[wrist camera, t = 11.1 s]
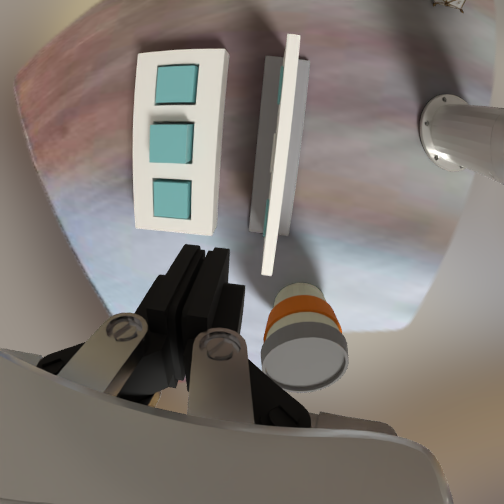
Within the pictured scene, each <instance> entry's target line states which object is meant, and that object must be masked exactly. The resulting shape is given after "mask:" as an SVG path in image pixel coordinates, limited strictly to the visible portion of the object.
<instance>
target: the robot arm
mask: <svg viewBox="0 0 504 504" xmlns="http://www.w3.org/2000/svg"><path fill="white" fill-rule="evenodd" d="M442 99H443V100H442ZM420 137H421V142H422V145H423V148H424V150H425V152H426V154H427V155H428V157H429V158H430V160H431V161H432V162H433V163H434V164H436V165H437V166H438V167H440V168H442V169H444V170H447V171H451V172H457V171H462V170H464V169H466V168H467V169H469V170H472V171H474V172H476V173H479V174H481V175H483V176H486V177H488V178H490V179H492V180H494V181H497V182H499V183H501V184H503V185H504V108H496V107H487V106H476V105H469V104H468V103H467V102H465V101H464V100H463V99H461V98H460V97H458V96H455V95H449V94H444V95H439V96H436V97H434V98H433V99H431V100H430V101H429V102H428V103H427V105H426V106H425V108H424V110H423V112H422V115H421V119H420ZM434 156H435V157H434ZM229 256H230V250H229V249H225V248H216V247H215V248H214V250H213V251H208V253H207V255H206V257H205V250H200V246H198V245H189V244H185V245H184V246H183V248H182V249H181V251H180V253H179V254H178V256H177V257H176V259H175V261H174V262H173V264H172V265H171V267H170V269H169V270H168V272H167V273H166V275H159V276H158V277H157V278H156V280H155V281H154V283H153V284H152V286H151V288H150V289H149V291H148V292H147V294H146V296H145V297H144V299H143V300H142V302H141V304H140V305H139V307H138V308H137V310H136V312H135V313H120V314H116V315H113V316H111V317H110V318H108V319H107V320H106V321H105V322H104V323H103V324H102V325H101V326H100V327H99V328H98V329H97V330H96V332H95V333H94V334H93V335H92V336H91V337H90V338H89V339H88V341H86V342H84V343H81V344H78V345H76V346H73V347H70V348H67V349H64V350H61V351H58V352H55V353H52V354H49V355H47V356H46V357H44V358H43V357H42V356H41V355H37V354H31V353H25V352H20V351H14V350H9V349H0V504H453V499H452V495H451V492H450V488H449V485H448V482H447V479H446V477H445V474H444V472H443V469H442V467H441V465H440V463H439V461H438V460H437V459H436V457H435V455H434V454H433V453H432V452H431V451H430V450H429V449H427V448H426V447H424V446H423V445H421V444H419V443H417V442H414V441H411V440H409V439H406V438H402V437H398V436H397V434H396V432H395V431H394V429H393V428H392V427H391V426H389V425H388V424H386V423H382V422H378V421H371V420H364V419H358V418H352V417H345V416H340V415H335V414H330V413H325V412H320V413H319V415H318V414H313V413H309V412H308V411H307V410H306V409H305V408H304V406H303V405H301V404H300V403H299V402H298V401H296V400H295V399H294V398H293V397H291V396H290V395H289V394H288V393H287V392H285V391H284V390H283V389H282V388H281V387H280V386H279V385H277V384H276V383H275V382H274V381H273V380H272V379H270V378H269V377H268V376H267V375H266V374H265V373H263V372H262V371H261V370H260V369H259V368H258V367H257V366H256V365H254V364H253V363H252V362H251V361H250V360H249V359H248V354H247V345H246V342H245V340H244V338H243V337H242V336H241V335H240V330H241V323H242V315H243V307H244V296H245V285H238V284H229V283H228V273H229ZM185 374H186V382H187V390H188V392H189V398H188V412H187V415H186V414H181V413H177V412H172V411H167V410H163V409H159V408H155V406H156V404H157V403H158V401H159V399H160V396H161V390H163V389H165V388H167V387H173V388H176V386H177V383H178V380H182V381H183V380H184V377H185Z"/></svg>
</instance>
